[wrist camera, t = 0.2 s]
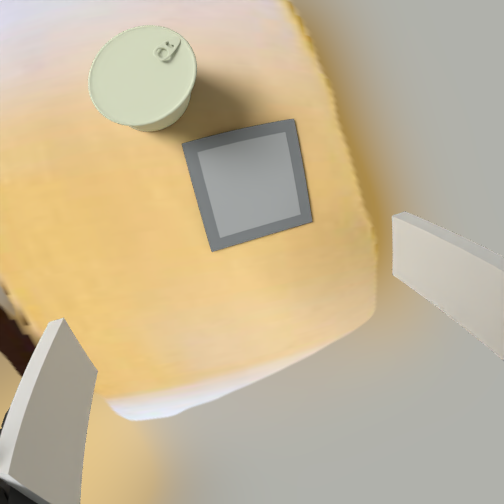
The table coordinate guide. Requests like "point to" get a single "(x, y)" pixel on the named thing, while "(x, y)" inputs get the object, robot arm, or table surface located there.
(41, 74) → the table surface
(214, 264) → the table surface
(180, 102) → the can
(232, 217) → the coaster
